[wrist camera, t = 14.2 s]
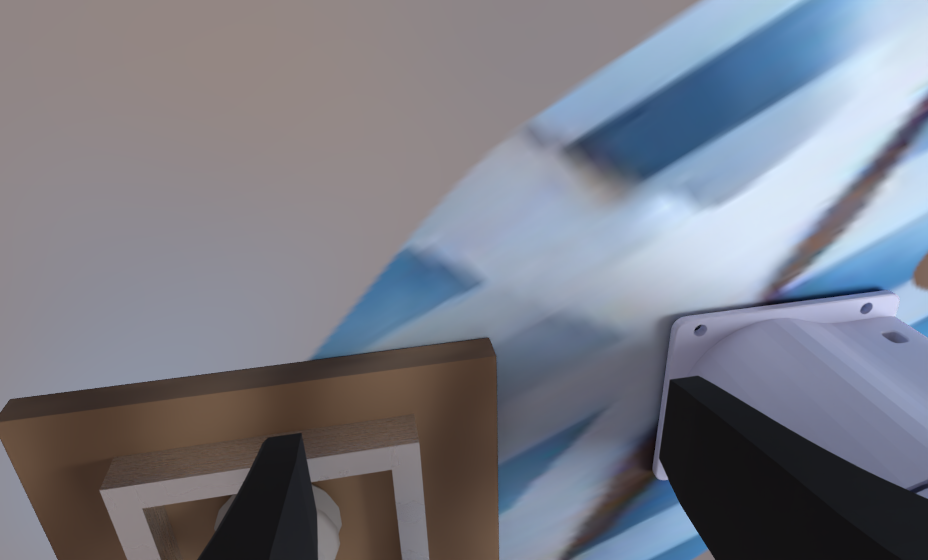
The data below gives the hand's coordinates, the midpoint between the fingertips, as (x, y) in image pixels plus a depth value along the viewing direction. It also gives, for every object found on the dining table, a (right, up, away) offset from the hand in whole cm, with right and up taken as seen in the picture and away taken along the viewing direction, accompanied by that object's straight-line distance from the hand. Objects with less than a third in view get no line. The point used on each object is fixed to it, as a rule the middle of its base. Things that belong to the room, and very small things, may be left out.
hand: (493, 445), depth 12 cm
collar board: (-7, -6, +13) cm, 16 cm away
